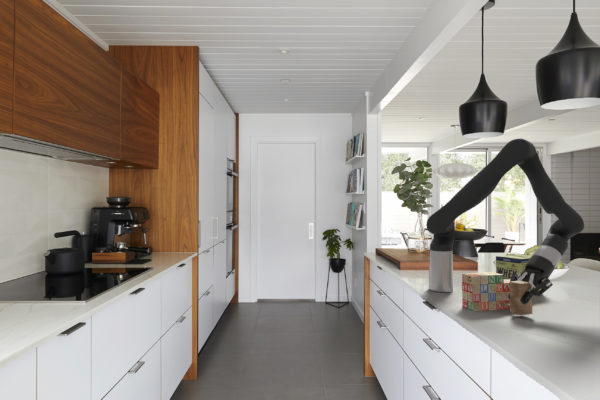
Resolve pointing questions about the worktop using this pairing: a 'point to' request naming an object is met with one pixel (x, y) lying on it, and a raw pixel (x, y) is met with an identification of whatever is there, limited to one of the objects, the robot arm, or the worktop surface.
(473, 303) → the stack of blocks
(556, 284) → the worktop surface
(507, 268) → the protein box
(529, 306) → the wooden mallet
